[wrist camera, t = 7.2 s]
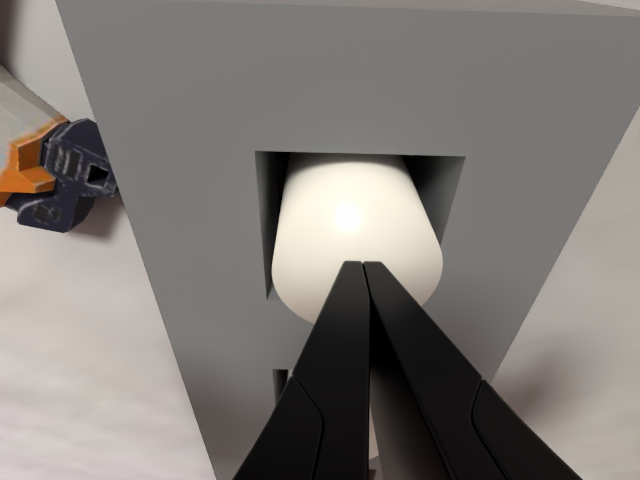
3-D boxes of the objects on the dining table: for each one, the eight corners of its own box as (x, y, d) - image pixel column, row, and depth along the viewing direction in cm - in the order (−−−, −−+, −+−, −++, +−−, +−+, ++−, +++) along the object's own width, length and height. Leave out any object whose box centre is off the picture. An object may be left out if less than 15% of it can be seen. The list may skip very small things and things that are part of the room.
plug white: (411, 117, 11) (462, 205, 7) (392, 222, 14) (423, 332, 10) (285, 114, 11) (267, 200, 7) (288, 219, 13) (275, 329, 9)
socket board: (566, -2, 10) (686, 18, 7) (403, 451, 25) (415, 522, 22) (142, -17, 10) (54, -4, 6) (241, 449, 25) (230, 520, 22)
